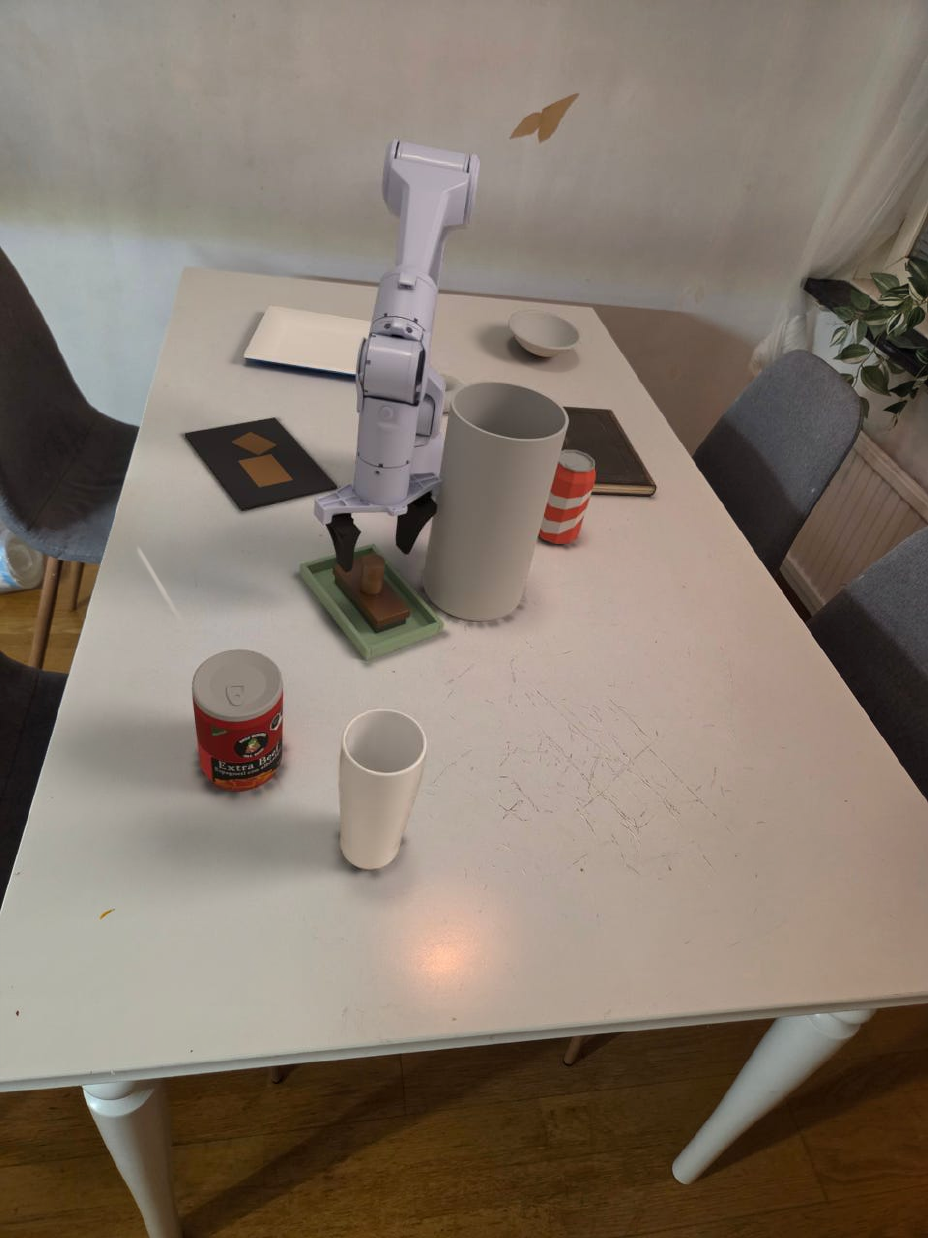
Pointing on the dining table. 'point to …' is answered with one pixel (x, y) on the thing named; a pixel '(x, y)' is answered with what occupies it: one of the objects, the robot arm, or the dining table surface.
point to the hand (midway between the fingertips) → (374, 557)
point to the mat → (259, 463)
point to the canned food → (238, 718)
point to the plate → (308, 340)
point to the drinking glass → (378, 784)
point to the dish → (544, 332)
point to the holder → (351, 621)
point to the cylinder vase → (491, 497)
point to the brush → (372, 593)
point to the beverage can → (568, 497)
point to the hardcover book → (608, 452)
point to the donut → (450, 390)
